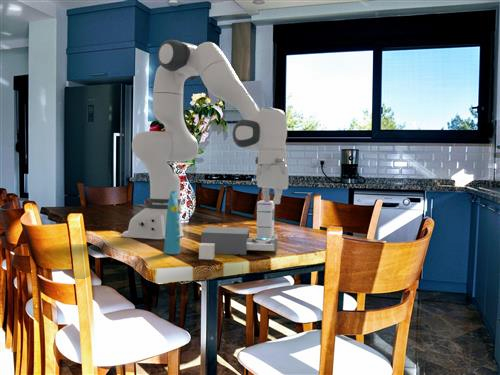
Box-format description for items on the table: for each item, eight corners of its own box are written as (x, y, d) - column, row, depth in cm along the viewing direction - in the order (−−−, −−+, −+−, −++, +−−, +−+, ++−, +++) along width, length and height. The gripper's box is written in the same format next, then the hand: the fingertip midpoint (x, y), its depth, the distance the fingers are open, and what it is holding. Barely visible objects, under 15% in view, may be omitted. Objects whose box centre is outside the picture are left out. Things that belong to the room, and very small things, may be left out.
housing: (200, 253, 140) (201, 232, 140) (207, 245, 154) (208, 226, 154) (246, 254, 139) (246, 234, 139) (248, 246, 153) (249, 228, 153)
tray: (235, 249, 141) (235, 237, 141) (238, 243, 152) (238, 232, 152) (277, 250, 140) (277, 238, 140) (277, 244, 151) (277, 233, 151)
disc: (257, 246, 142) (257, 240, 142) (249, 243, 147) (249, 237, 147) (274, 245, 144) (274, 239, 144) (265, 242, 150) (266, 236, 150)
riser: (198, 259, 131) (199, 245, 131) (201, 256, 135) (201, 242, 135) (212, 259, 131) (213, 245, 131) (214, 256, 135) (214, 243, 135)
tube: (178, 255, 135) (180, 191, 134) (162, 255, 135) (163, 190, 134) (181, 251, 143) (182, 189, 142) (165, 250, 142) (166, 189, 141)
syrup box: (271, 241, 167) (273, 201, 166) (255, 240, 168) (257, 201, 167) (274, 238, 172) (275, 200, 171) (258, 238, 173) (259, 199, 173)
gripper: (294, 158, 135) (293, 205, 136) (271, 160, 155) (270, 200, 155) (274, 158, 133) (273, 205, 134) (253, 159, 153) (252, 200, 153)
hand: (271, 202), depth 145 cm, fingers open, 8 cm apart
